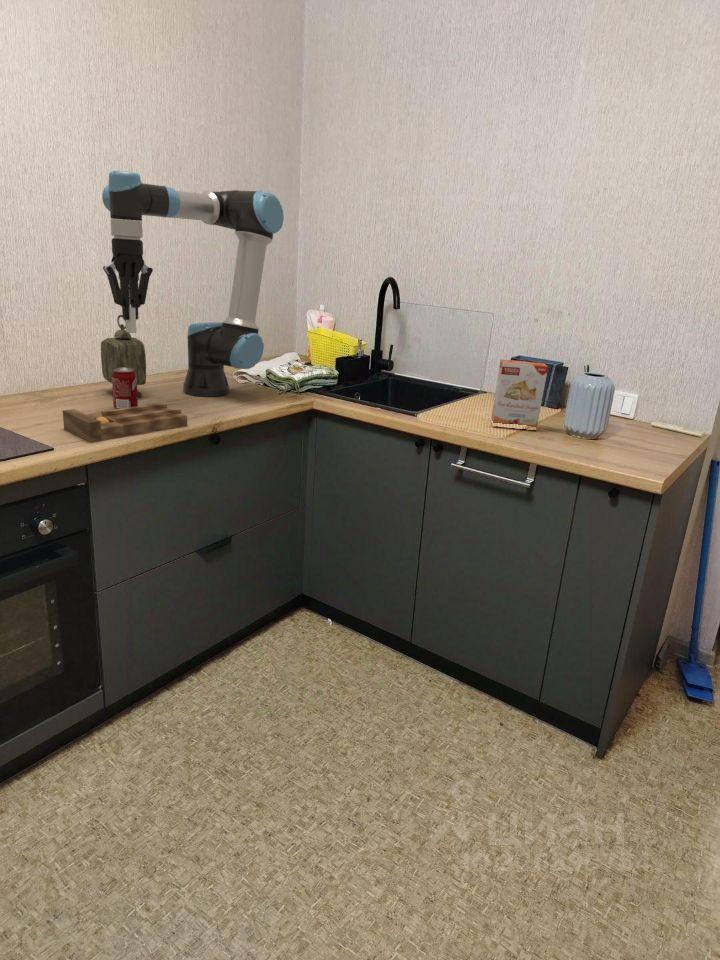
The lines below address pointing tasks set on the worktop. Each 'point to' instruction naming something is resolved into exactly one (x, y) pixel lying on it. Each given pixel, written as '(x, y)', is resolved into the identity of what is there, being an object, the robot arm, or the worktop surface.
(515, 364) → the cracker box
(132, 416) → the board
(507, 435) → the worktop surface
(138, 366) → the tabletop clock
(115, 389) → the soda can
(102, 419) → the ball
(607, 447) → the worktop surface
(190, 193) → the robot arm
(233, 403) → the worktop surface
